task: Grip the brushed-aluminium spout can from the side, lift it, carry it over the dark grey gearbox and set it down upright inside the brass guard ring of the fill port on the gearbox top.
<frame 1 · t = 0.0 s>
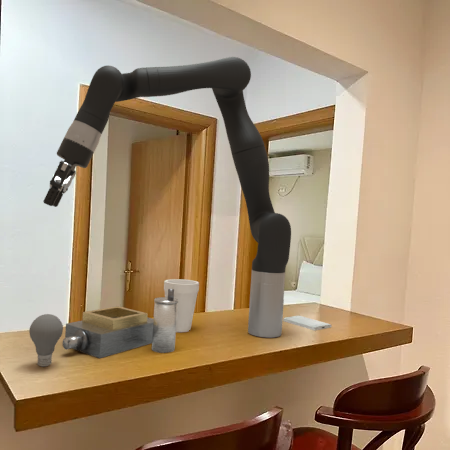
hand: (50, 205, 99), 31 cm above the breakfast bar, tool tilted 20°, fingers open, 8 cm apart
light bulb: (44, 366, 81), on the breakfast bar
foam cup: (178, 329, 114), on the breakfast bar
hard drive: (306, 326, 129), on the breakfast bar
spout can: (163, 349, 96), on the breakfast bar
gearbox: (113, 343, 98), on the breakfast bar
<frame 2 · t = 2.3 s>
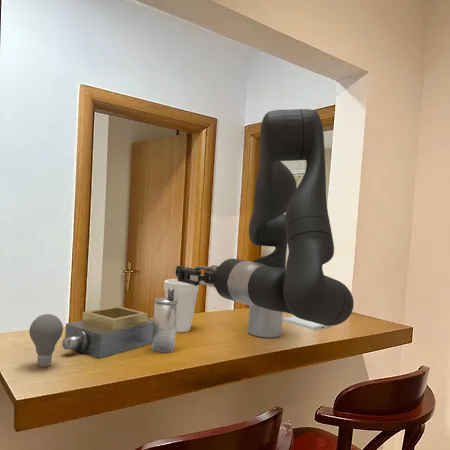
hand: (195, 270, 87), 20 cm above the breakfast bar, tool horizontal, fingers open, 8 cm apart
nothing on the breakfast bar moved.
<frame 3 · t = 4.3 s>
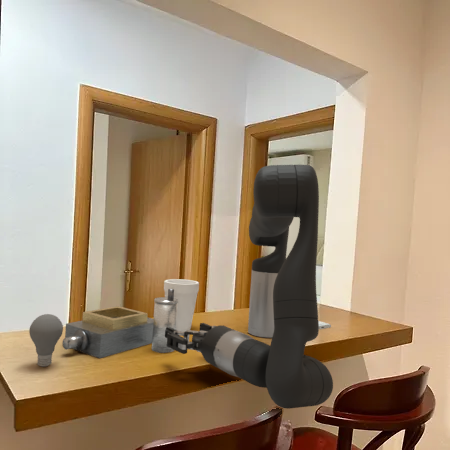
hand: (184, 329, 89), 6 cm above the breakfast bar, tool horizontal, fingers open, 8 cm apart
nothing on the breakfast bar moved.
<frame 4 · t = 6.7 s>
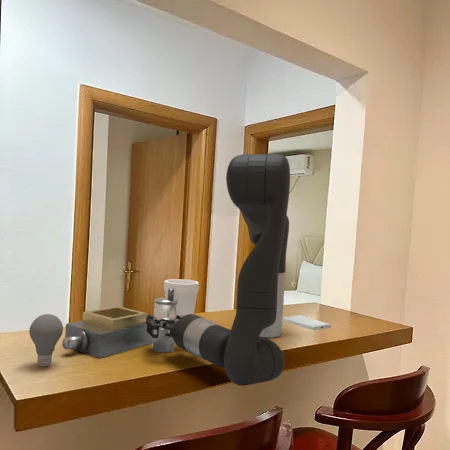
hand: (159, 318, 98), 7 cm above the breakfast bar, tool horizontal, fingers closed on spout can, 5 cm apart
spout can: (163, 349, 96), on the breakfast bar, touching gripper
everything else where it was.
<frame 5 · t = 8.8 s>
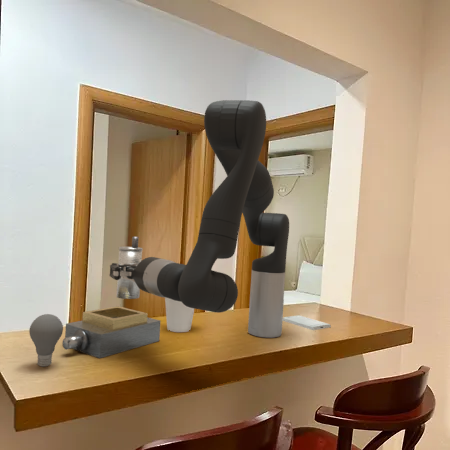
hand: (124, 267, 98), 18 cm above the breakfast bar, tool horizontal, fingers closed on spout can, 5 cm apart
spout can: (127, 296, 96), point 11 cm above the breakfast bar, touching gripper
everything else where it was.
when the fingers open (12 cm above the breakfast bar, at t = 10.8 s): spout can stays where it is, resting on gearbox.
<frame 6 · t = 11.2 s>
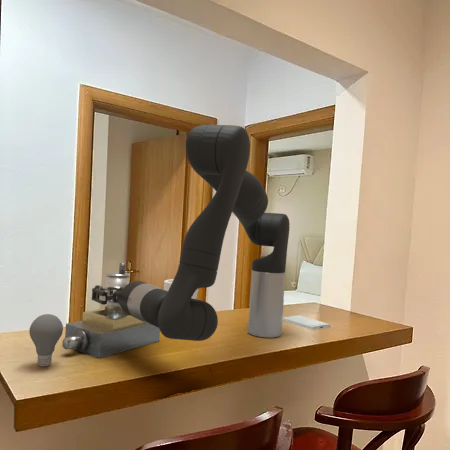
hand: (113, 288, 99), 13 cm above the breakfast bar, tool horizontal, fingers open, 8 cm apart
spout can: (115, 322, 97), point 5 cm above the breakfast bar, touching gearbox
everything else where it was.
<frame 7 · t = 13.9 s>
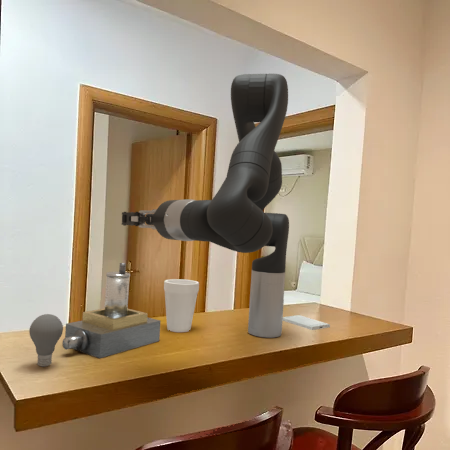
hand: (143, 219, 89), 30 cm above the breakfast bar, tool horizontal, fingers open, 8 cm apart
nothing on the breakfast bar moved.
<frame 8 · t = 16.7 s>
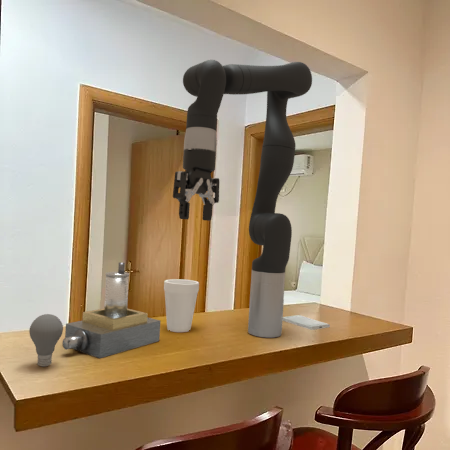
hand: (195, 219, 96), 30 cm above the breakfast bar, tool pointing down, fingers open, 8 cm apart
nothing on the breakfast bar moved.
at the end: spout can inside the target area on the gearbox (0.1 cm from its centre), point 5.1 cm above the gearbox's base; spout can tilted 1°; the gripper is holding nothing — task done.
